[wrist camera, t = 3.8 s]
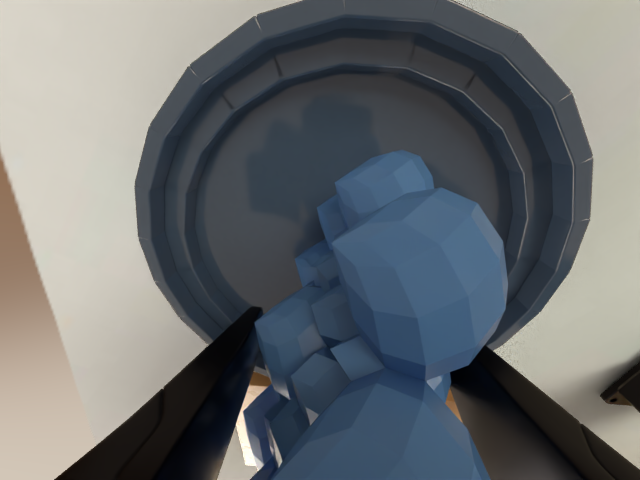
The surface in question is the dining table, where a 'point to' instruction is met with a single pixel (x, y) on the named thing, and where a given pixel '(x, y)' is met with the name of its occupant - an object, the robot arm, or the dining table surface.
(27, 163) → the dining table surface
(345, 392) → the grapes
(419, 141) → the round blue tray
